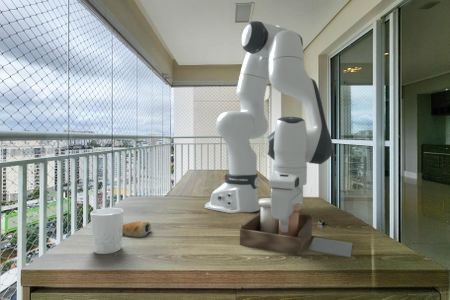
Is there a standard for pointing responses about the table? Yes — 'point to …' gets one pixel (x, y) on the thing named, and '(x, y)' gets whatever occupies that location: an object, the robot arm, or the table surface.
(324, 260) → the table surface
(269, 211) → the white glossy domed part
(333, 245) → the slate tile
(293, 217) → the peach mushroom knob
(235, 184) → the robot arm
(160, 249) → the table surface
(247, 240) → the wooden tray
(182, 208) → the table surface
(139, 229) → the pastry
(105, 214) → the white cup
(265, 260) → the table surface
